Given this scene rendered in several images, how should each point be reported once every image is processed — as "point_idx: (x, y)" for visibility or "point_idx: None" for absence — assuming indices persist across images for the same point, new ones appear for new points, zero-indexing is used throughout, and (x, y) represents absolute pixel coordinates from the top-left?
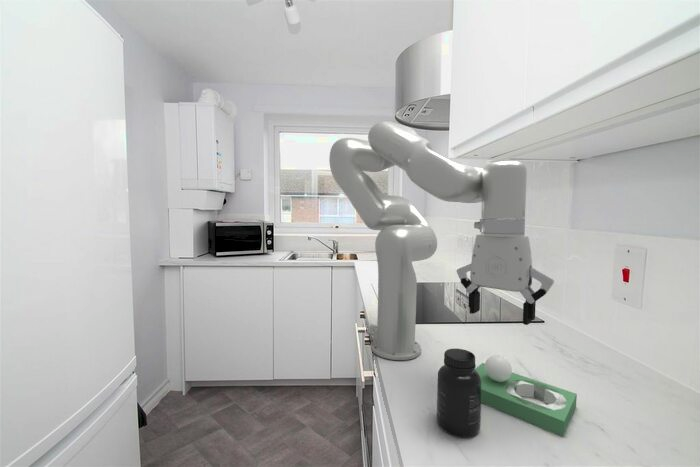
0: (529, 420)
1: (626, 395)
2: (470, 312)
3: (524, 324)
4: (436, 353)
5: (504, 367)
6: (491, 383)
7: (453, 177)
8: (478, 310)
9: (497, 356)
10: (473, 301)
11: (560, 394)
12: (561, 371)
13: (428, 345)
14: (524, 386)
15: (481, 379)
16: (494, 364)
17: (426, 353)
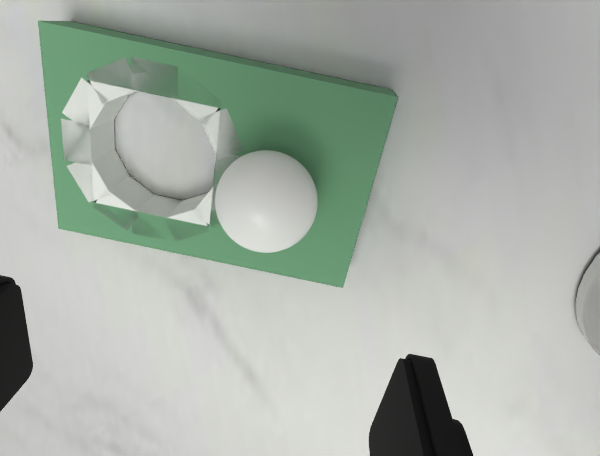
0: (158, 40)
1: None
2: (430, 359)
3: (11, 279)
4: (512, 329)
5: (231, 177)
6: (288, 148)
7: None
8: (375, 423)
9: (262, 220)
10: (428, 449)
11: (91, 198)
12: (152, 379)
13: (548, 371)
14: (196, 205)
15: (325, 158)
16: (270, 174)
17: (550, 313)
